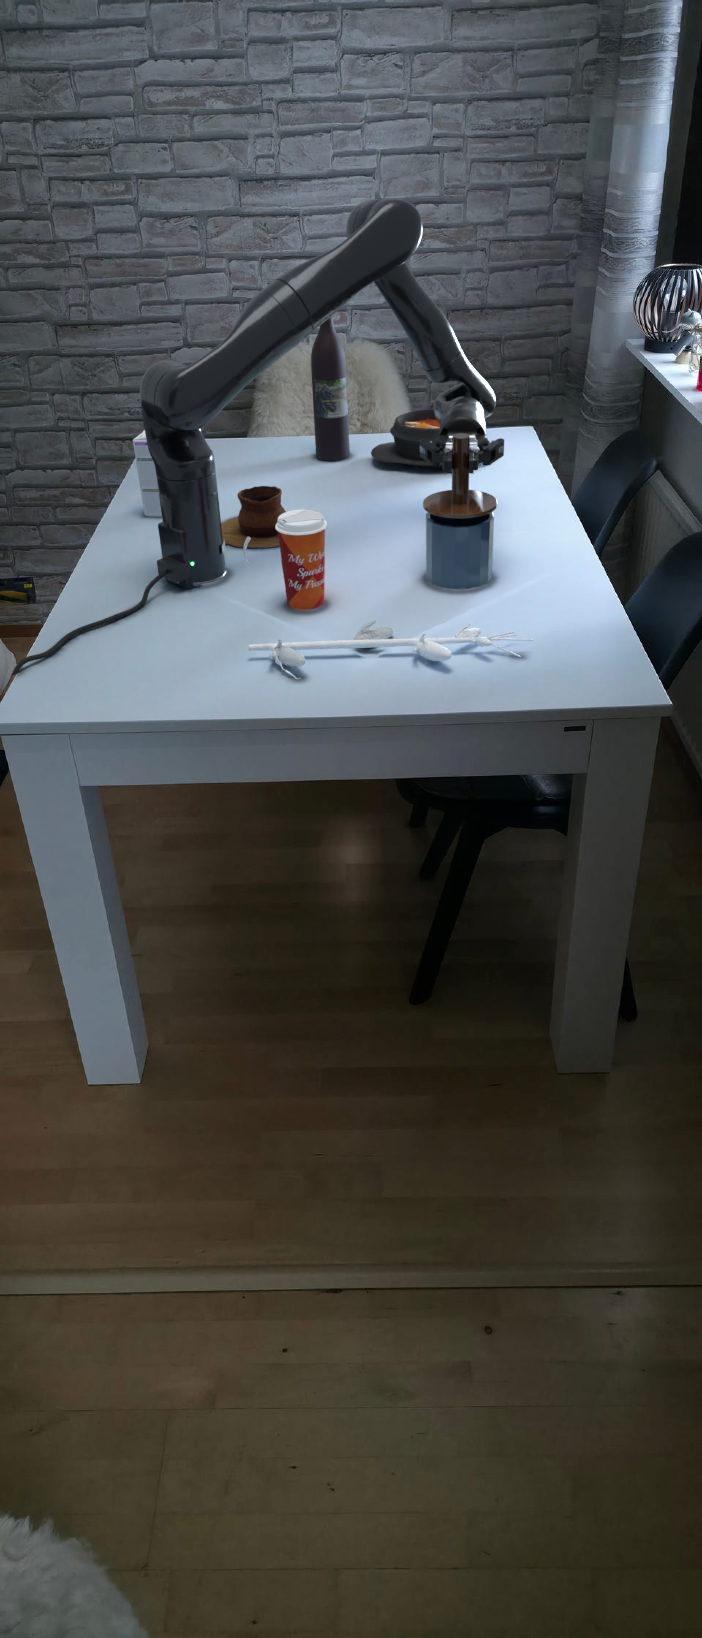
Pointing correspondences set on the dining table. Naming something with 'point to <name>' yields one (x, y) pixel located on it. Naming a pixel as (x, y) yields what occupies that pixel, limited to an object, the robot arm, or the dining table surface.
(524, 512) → the dining table surface
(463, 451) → the paper towel holder
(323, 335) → the wine bottle
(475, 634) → the dried plant stem
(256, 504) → the ceramic pot
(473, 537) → the blue faceted canister
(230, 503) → the dining table surface
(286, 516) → the paper cup
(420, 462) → the casserole
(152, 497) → the syrup box
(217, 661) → the dining table surface
